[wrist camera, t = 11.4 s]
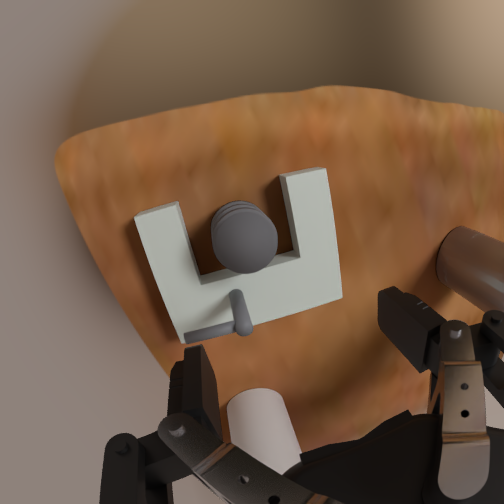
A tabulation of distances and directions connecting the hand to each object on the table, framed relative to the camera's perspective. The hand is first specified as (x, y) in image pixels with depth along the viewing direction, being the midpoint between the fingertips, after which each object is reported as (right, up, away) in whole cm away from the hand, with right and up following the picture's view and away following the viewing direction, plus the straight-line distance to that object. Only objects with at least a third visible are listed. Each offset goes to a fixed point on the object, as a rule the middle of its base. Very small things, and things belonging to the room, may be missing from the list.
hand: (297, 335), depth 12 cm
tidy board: (-3, +3, +18) cm, 18 cm away
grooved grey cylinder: (-3, +6, +17) cm, 18 cm away
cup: (-2, -19, +26) cm, 32 cm away
